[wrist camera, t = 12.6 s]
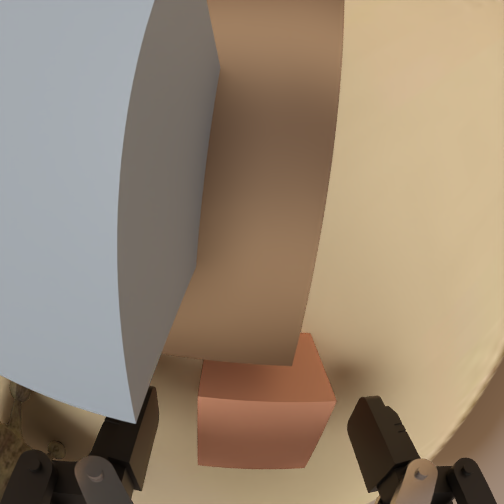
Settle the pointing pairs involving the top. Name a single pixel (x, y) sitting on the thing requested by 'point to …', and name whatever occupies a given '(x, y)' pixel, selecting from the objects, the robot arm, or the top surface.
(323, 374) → the terracotta block
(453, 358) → the top surface
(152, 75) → the blue block
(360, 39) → the top surface
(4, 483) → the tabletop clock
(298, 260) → the plinth
